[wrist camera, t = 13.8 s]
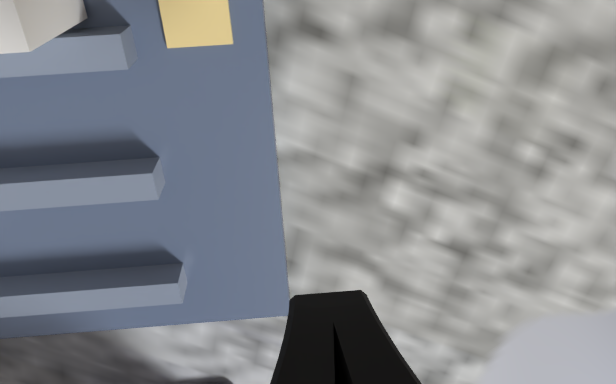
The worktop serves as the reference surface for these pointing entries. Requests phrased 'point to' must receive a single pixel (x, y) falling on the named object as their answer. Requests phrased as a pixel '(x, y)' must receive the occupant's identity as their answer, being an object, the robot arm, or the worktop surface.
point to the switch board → (141, 172)
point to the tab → (36, 22)
